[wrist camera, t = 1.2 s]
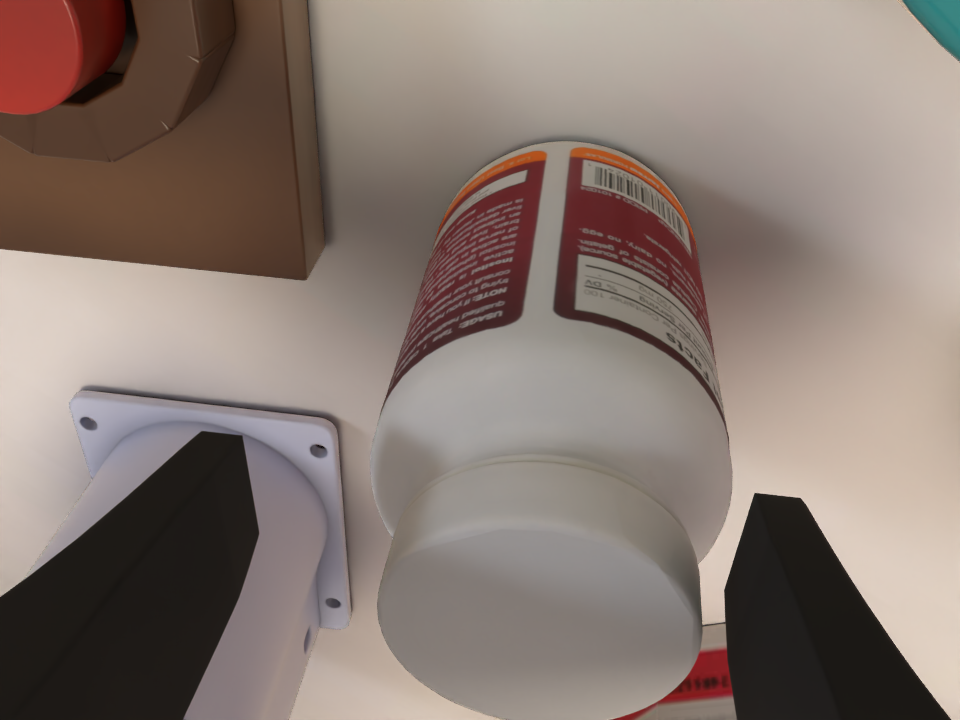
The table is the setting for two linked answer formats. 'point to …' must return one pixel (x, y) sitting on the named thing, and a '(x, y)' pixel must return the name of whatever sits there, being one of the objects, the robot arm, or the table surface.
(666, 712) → the spray bottle
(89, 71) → the button
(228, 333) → the table surface
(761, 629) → the robot arm
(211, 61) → the control box
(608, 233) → the pill bottle
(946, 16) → the cup
